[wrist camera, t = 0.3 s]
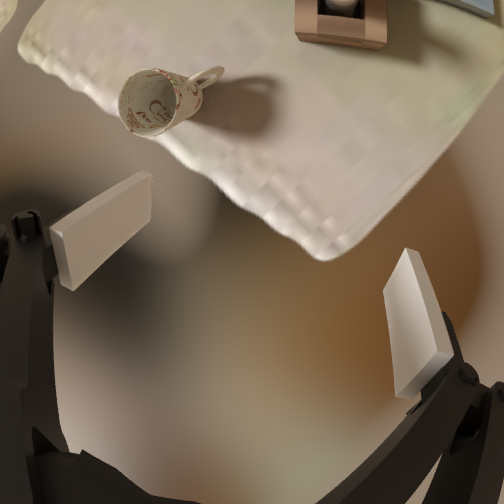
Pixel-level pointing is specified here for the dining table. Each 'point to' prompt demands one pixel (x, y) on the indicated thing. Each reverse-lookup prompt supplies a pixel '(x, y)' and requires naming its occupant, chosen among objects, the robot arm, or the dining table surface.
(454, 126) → the dining table surface
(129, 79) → the mug
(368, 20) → the wooden hollow square frame
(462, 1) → the slate tray
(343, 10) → the steel pin
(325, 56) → the dining table surface
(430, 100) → the dining table surface
